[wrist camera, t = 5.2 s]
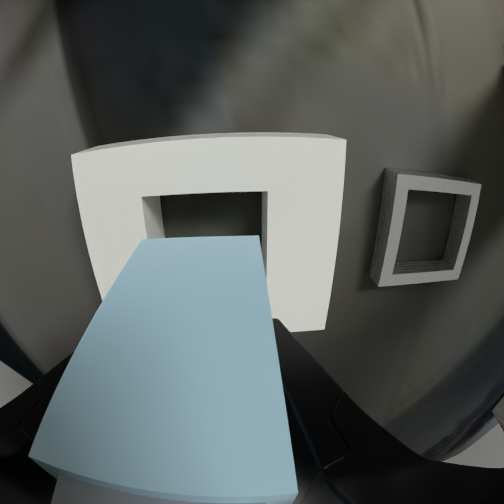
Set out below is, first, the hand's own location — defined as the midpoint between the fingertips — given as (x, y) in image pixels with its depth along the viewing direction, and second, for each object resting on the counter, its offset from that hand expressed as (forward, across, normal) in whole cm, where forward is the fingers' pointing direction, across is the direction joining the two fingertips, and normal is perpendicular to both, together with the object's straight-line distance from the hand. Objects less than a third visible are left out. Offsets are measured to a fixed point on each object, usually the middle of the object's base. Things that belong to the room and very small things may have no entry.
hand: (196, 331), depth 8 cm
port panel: (+8, 0, 0) cm, 8 cm away
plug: (+2, 0, 0) cm, 3 cm away
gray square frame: (+8, -13, 0) cm, 15 cm away
